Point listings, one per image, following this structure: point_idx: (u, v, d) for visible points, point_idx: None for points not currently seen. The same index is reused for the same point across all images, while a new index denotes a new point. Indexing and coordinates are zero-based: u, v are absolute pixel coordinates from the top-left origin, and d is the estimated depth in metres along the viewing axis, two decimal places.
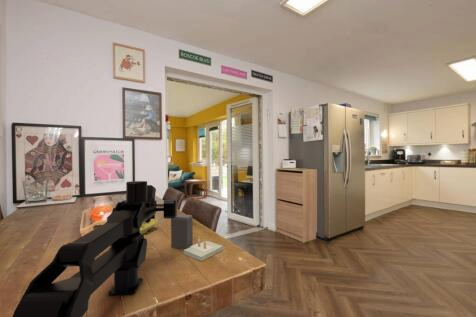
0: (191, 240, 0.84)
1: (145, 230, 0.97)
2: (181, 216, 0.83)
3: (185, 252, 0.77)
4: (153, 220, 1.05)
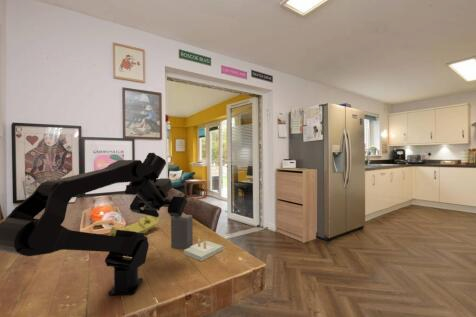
0: (191, 240, 0.84)
1: (145, 230, 0.97)
2: None
3: (185, 252, 0.77)
4: (154, 220, 1.05)
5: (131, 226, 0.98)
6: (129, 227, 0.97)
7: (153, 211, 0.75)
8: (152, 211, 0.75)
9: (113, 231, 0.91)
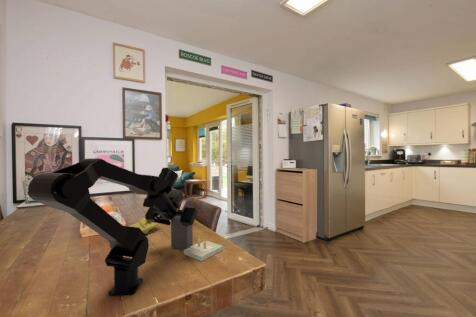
0: (191, 240, 0.84)
1: (146, 231, 0.96)
2: None
3: (185, 252, 0.77)
4: None
5: (132, 226, 0.98)
6: None
7: (165, 220, 0.82)
8: (165, 220, 0.82)
9: None
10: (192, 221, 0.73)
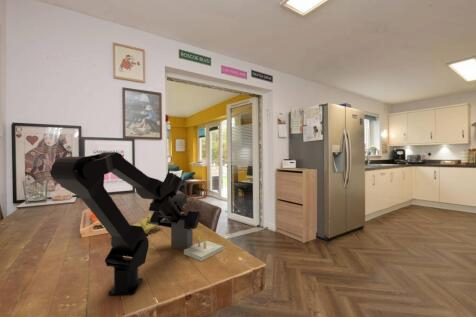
0: (191, 240, 0.84)
1: (146, 231, 0.96)
2: None
3: (185, 252, 0.77)
4: None
5: None
6: None
7: None
8: None
9: None
10: (196, 225, 0.76)
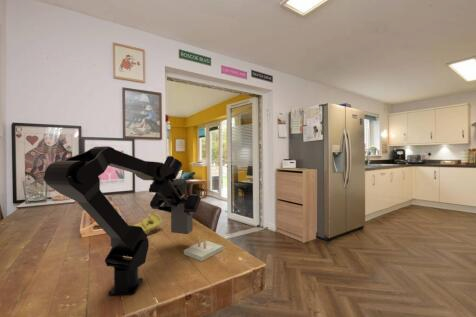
0: (191, 225, 0.84)
1: (147, 231, 0.96)
2: None
3: (185, 252, 0.77)
4: (157, 221, 1.04)
5: None
6: None
7: None
8: None
9: None
10: (196, 208, 0.76)
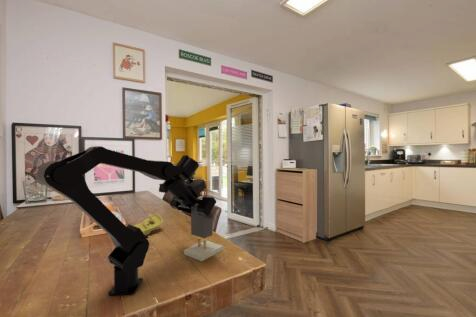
0: (210, 229, 0.78)
1: (147, 231, 0.95)
2: None
3: (185, 252, 0.77)
4: (158, 221, 1.03)
5: None
6: None
7: None
8: None
9: None
10: (208, 211, 0.69)
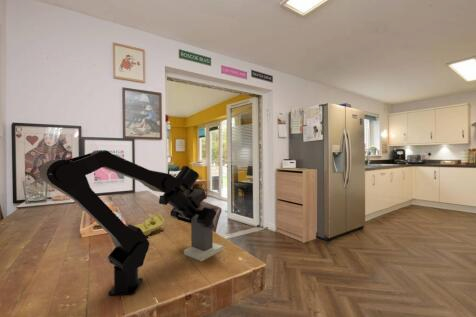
0: (210, 242, 0.78)
1: (148, 232, 0.95)
2: None
3: (185, 252, 0.77)
4: (159, 222, 1.02)
5: None
6: None
7: None
8: (190, 218, 0.81)
9: None
10: (208, 223, 0.69)
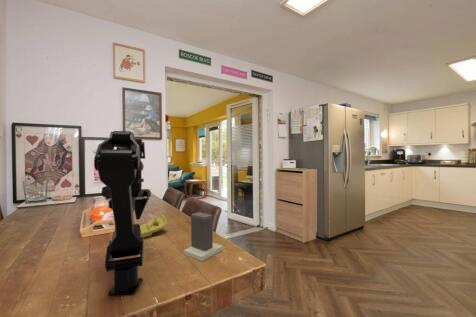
0: (210, 242, 0.78)
1: (148, 233, 0.93)
2: (200, 215, 0.79)
3: (185, 252, 0.77)
4: (162, 223, 1.00)
5: None
6: None
7: None
8: None
9: None
10: None
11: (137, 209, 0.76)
